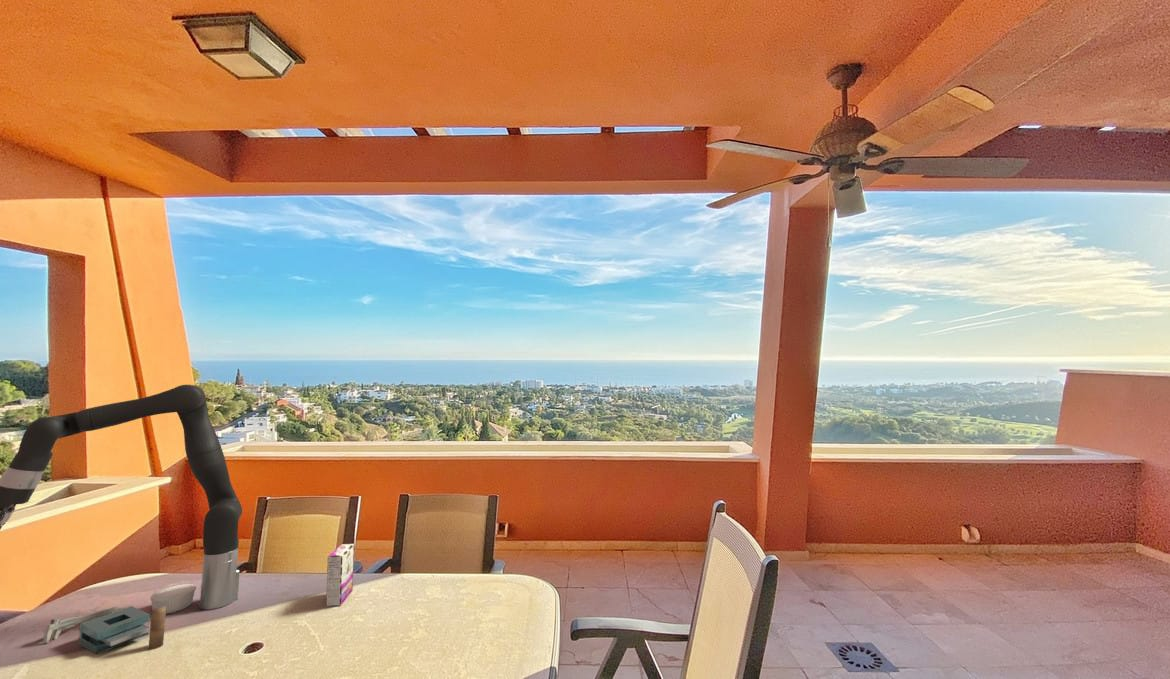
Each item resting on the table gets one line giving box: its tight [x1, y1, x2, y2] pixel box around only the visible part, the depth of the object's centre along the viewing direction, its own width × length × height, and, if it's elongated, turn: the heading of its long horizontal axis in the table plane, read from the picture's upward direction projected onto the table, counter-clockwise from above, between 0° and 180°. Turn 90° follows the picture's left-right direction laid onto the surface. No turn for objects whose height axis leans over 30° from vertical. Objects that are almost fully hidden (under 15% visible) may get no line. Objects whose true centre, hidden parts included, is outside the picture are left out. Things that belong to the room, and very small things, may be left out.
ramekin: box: [150, 583, 197, 615], centre depth 149 cm, size 11×11×5 cm
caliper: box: [42, 605, 123, 644], centre depth 138 cm, size 20×1×6 cm, turn 178°
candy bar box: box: [325, 543, 355, 608], centre depth 155 cm, size 11×5×16 cm, turn 8°
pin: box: [148, 607, 167, 650], centre depth 127 cm, size 3×3×10 cm
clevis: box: [78, 605, 151, 655], centre depth 130 cm, size 11×16×6 cm
